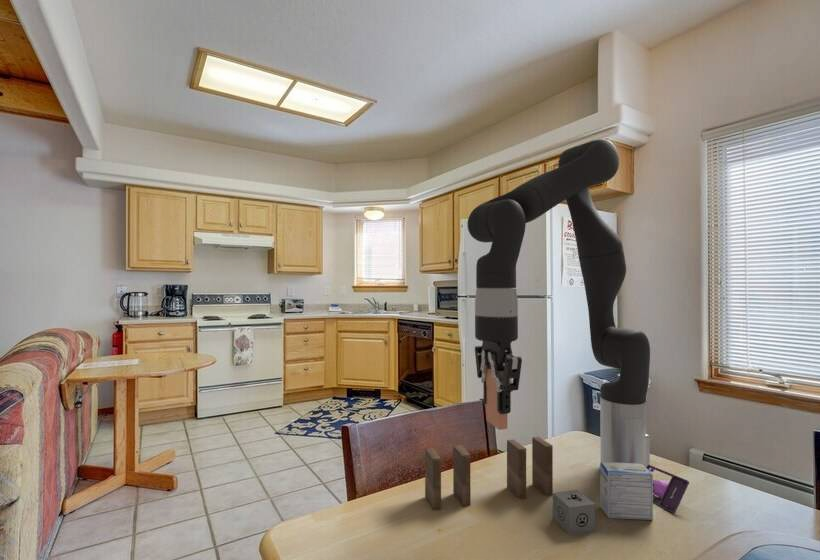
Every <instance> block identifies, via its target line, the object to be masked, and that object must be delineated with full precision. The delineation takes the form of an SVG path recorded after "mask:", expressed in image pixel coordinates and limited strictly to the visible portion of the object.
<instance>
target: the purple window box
mask: <svg viewBox="0 0 820 560" xmlns="http://www.w3.org/2000/svg"><path fill="white" fill-rule="evenodd" d="M646 468H647V469H648V470H649V469H650V470H649V471H650V472H651V473H654V471H657V472H660V473H662V474H665V475H667V476H670V477H671V478H670V480H669V482H668V481H665V480H662V479H654V478H653V504H655V505H656V506H659V507H660V508H662V509H663V510H666V511H668V512H670V513H672V514H674V515H675V514H676V513H677V510H678V508H679V506H680V503H681V502H682V499H683V498H684V495H685V493H686V491H687V489H688V486H689V484H690V481H689V480H687V479H684V478H683V477H680V476H678V475H675V474H673V473H670V472H668V471H666V470H663V469H661V468H658V467H656V466H653V465H651V464H650V465H647V467H646ZM656 496H657V497H659V498H661V499H660V501H659V503H658V502H656V501H655V500H656Z"/></svg>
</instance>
